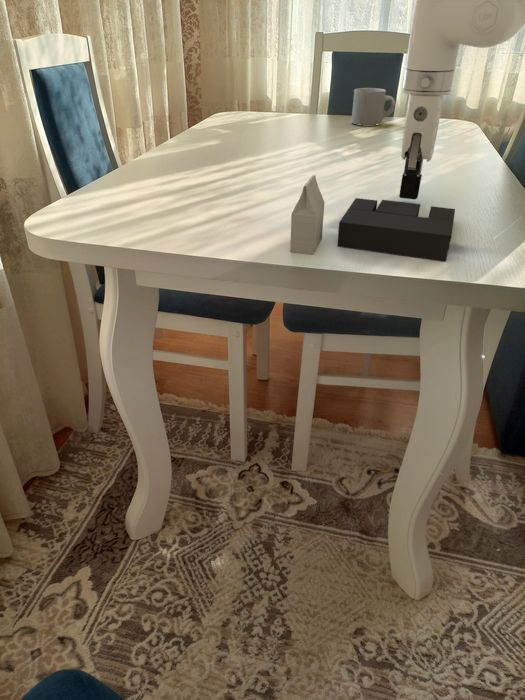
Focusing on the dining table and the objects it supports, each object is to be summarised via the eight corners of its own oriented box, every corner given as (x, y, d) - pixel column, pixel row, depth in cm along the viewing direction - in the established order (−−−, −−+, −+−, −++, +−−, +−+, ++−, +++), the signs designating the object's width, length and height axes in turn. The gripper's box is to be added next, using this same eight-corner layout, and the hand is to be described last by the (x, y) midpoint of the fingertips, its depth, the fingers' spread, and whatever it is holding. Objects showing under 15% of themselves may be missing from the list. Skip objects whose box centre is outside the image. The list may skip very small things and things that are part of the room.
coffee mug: (350, 125, 160) (353, 91, 154) (351, 120, 168) (355, 87, 162) (392, 127, 158) (397, 92, 152) (391, 121, 166) (396, 88, 160)
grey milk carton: (321, 238, 80) (326, 175, 74) (313, 254, 75) (318, 188, 69) (299, 236, 81) (302, 173, 75) (290, 251, 76) (292, 185, 70)
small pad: (416, 227, 84) (420, 204, 82) (411, 240, 79) (415, 216, 77) (378, 222, 86) (382, 199, 84) (371, 234, 81) (375, 211, 79)
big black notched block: (449, 232, 82) (455, 208, 80) (445, 261, 73) (451, 235, 70) (353, 220, 87) (355, 197, 85) (337, 246, 77) (339, 221, 75)
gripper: (450, 89, 72) (426, 212, 82) (453, 78, 83) (432, 188, 94) (398, 87, 74) (381, 207, 84) (408, 77, 85) (392, 184, 96)
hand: (408, 197), depth 89 cm, fingers closed
